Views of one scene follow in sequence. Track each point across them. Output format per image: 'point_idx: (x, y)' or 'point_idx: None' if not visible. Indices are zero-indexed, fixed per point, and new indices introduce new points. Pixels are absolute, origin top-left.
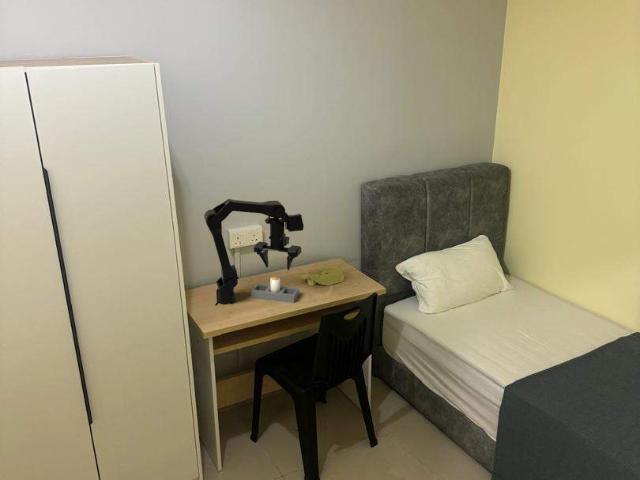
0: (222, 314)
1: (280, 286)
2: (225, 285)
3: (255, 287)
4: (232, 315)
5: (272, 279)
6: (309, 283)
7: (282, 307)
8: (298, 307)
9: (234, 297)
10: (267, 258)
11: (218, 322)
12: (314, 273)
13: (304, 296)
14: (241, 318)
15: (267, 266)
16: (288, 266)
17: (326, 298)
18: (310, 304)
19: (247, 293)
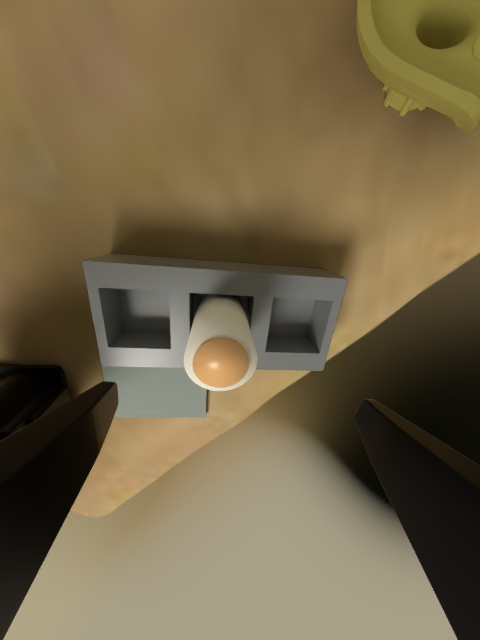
0: None
1: (239, 276)
2: None
3: (99, 320)
4: (115, 451)
5: (206, 380)
6: (399, 94)
7: (266, 371)
8: None
9: (53, 408)
10: (8, 512)
11: (98, 488)
12: None
13: (349, 256)
14: (153, 458)
15: (112, 414)
16: (399, 490)
17: (447, 257)
18: (371, 327)
19: (65, 278)
